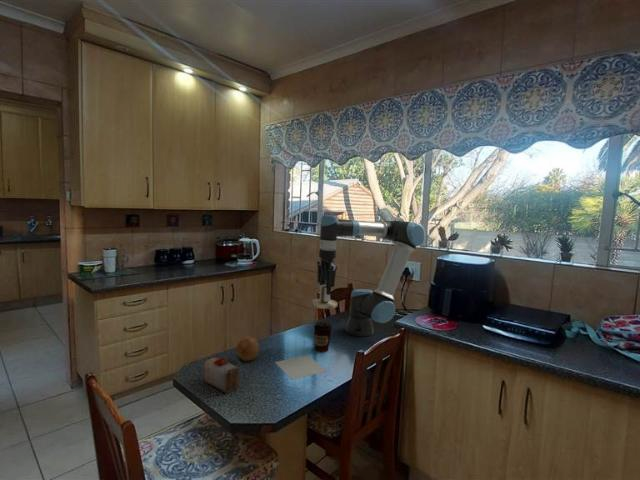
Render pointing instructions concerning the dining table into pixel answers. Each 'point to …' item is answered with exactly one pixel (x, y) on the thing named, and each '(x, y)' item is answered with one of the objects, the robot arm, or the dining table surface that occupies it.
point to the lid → (321, 304)
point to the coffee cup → (322, 336)
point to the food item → (221, 374)
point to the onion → (248, 348)
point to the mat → (300, 367)
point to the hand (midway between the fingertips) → (324, 299)
